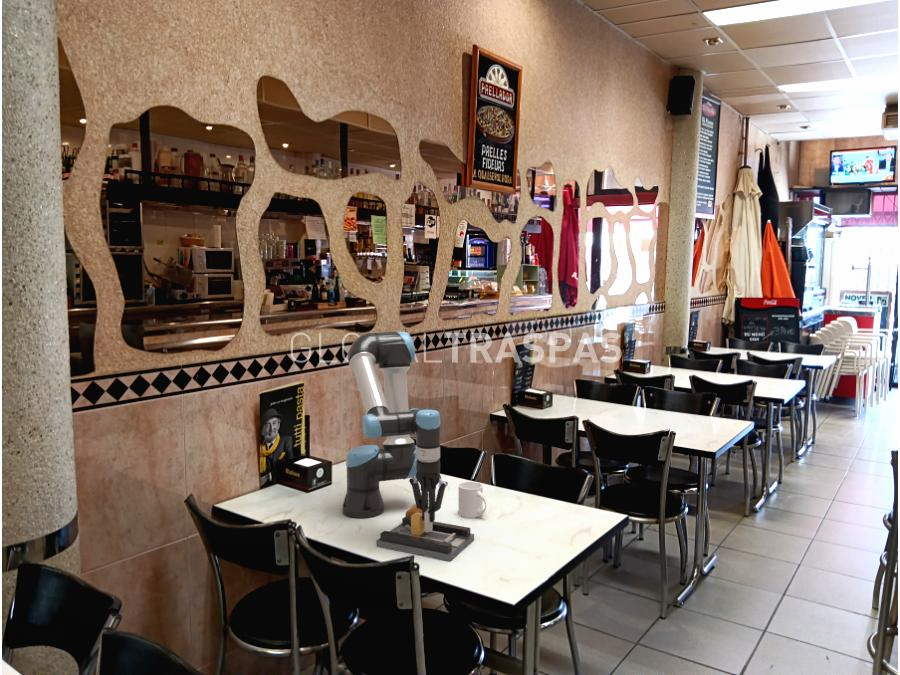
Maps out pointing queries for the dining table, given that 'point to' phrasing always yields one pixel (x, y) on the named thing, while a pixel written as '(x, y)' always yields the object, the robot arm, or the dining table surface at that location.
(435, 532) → the panel
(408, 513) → the bread roll
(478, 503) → the mug
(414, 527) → the lever
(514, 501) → the dining table surface
